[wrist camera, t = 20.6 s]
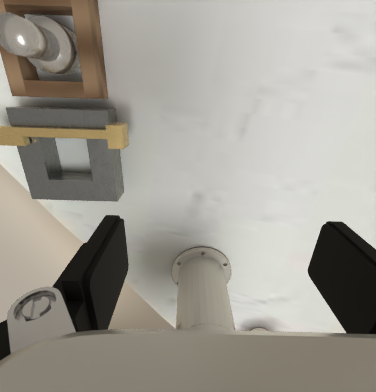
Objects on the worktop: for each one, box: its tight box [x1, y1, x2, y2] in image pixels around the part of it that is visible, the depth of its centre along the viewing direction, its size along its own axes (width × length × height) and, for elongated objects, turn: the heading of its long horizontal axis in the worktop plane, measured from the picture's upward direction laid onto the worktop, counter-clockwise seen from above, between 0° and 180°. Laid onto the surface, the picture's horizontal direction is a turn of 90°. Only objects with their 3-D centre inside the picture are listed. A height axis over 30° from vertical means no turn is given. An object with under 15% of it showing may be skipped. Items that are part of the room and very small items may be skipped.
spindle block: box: [6, 106, 124, 201], centre depth 36 cm, size 14×14×4 cm
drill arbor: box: [0, 12, 80, 75], centre depth 27 cm, size 6×6×10 cm
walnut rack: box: [0, 0, 108, 99], centre depth 30 cm, size 12×12×4 cm
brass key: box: [0, 123, 129, 149], centre depth 31 cm, size 3×20×3 cm, turn 88°
